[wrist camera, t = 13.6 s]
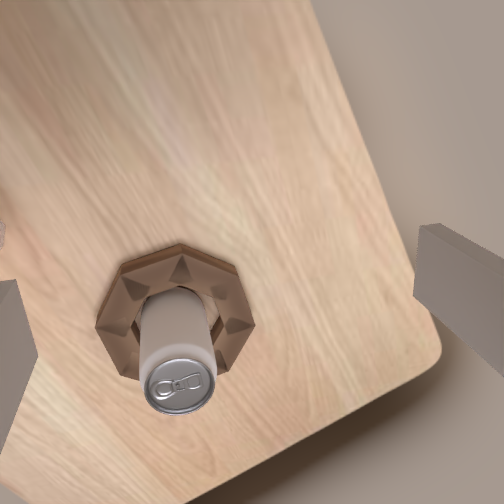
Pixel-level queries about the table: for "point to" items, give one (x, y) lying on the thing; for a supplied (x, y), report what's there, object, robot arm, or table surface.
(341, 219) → the table surface
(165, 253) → the brown octagonal frame
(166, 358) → the can
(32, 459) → the table surface
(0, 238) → the cup
